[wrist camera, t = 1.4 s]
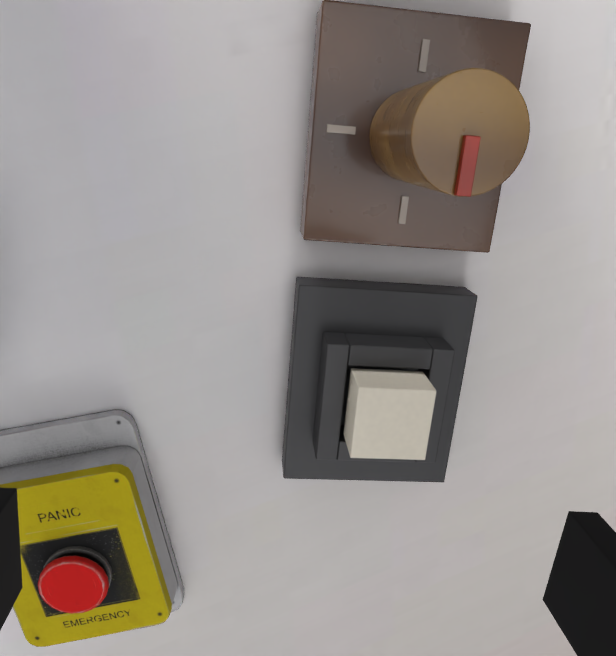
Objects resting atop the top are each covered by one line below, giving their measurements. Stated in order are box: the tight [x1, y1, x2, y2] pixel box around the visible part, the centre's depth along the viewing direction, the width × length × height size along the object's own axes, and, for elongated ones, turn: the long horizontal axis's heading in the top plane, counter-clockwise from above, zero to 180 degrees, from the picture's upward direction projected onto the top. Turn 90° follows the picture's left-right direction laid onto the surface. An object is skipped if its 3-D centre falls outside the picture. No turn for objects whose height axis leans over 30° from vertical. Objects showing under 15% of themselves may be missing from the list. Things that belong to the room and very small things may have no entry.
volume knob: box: [369, 68, 530, 197], centre depth 24 cm, size 4×4×8 cm
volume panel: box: [300, 0, 531, 253], centre depth 29 cm, size 11×10×3 cm
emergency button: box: [0, 410, 184, 647], centre depth 34 cm, size 9×4×15 cm
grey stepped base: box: [282, 277, 477, 482], centre depth 33 cm, size 12×10×4 cm
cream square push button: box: [343, 368, 436, 460], centre depth 30 cm, size 4×4×2 cm
